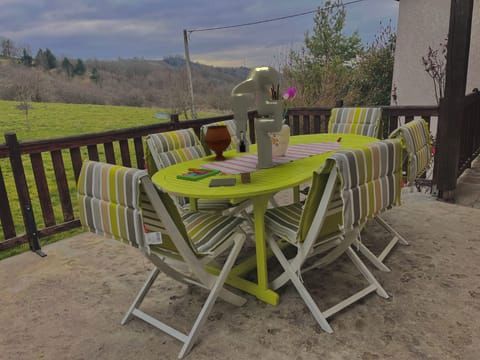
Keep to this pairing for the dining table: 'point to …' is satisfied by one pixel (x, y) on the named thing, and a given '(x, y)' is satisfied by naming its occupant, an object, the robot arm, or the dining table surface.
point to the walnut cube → (245, 177)
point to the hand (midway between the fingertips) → (242, 151)
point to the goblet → (218, 140)
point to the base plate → (222, 182)
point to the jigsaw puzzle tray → (198, 174)
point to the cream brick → (245, 146)
